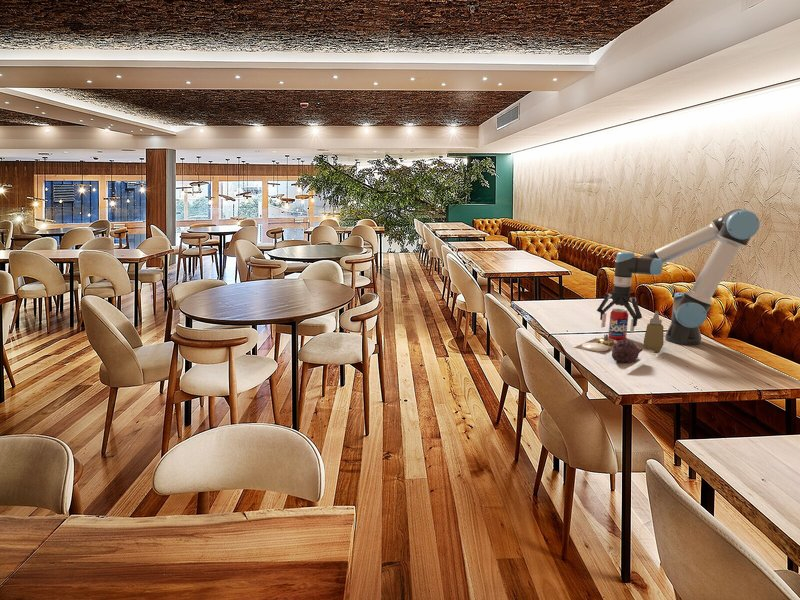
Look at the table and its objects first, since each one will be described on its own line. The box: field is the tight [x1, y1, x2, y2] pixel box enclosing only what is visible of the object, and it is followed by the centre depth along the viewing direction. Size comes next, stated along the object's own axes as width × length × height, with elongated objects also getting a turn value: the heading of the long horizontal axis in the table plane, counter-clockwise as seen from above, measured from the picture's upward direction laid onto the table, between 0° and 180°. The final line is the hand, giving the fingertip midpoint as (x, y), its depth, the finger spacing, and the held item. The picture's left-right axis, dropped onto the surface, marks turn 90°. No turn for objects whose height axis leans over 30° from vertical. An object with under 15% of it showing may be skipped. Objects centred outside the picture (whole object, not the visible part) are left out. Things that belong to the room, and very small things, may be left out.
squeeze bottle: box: [643, 310, 665, 354], centre depth 235 cm, size 8×8×18 cm
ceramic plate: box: [581, 342, 609, 352], centre depth 236 cm, size 11×11×1 cm
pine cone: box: [611, 339, 643, 364], centre depth 218 cm, size 18×10×10 cm, turn 126°
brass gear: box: [596, 333, 615, 346], centre depth 243 cm, size 8×8×4 cm
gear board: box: [573, 337, 617, 356], centre depth 239 cm, size 14×22×2 cm, turn 136°
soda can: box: [607, 308, 629, 341], centre depth 251 cm, size 8×8×15 cm
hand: (617, 329), depth 252 cm, fingers open, 13 cm apart
